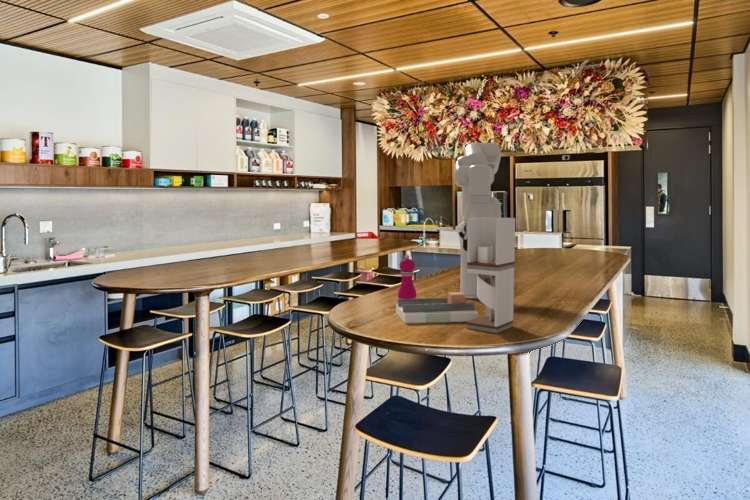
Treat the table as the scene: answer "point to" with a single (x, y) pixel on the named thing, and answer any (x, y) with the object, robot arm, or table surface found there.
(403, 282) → the pepper mill
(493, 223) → the display case
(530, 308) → the table surface
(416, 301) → the channel walls
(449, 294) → the terracotta block
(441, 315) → the channel deck
